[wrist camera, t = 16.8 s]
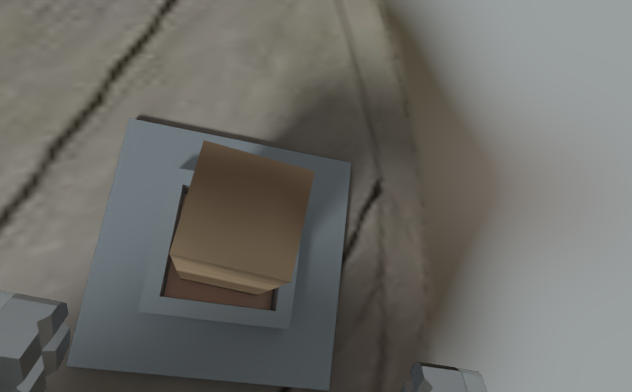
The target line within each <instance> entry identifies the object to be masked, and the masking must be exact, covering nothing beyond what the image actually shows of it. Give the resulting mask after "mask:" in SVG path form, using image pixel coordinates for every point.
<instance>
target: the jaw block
mask: <svg viewBox="0 0 632 392" xmlns="http://www.w3.org/2000/svg"><path fill="white" fill-rule="evenodd" d="M314 173H315V171H312V170H308V169H305V168H301V167H298V166H294V165H291V164H287V163H284V162H280V161H277V160H273V159H269V158H266V157H262V156H259V155H255V154H252V153H248V152H245V151H241V150H237V149H234V148H230V147H227V146H223V145H220V144H216V143H213V142H209V141H206V140H204V141H203V144H202V148H201V151H200V154H199V158H198V161H197V164H196V167H195V171H194V174H193V177H192V181H191V184H190V187H189V191H188V194H187V197H186V200H185V204H184V207H183V210H182V214H181V217H180V220H179V224H178V227H177V230H176V234H175V237H174V240H173V243H172V247H171V250H170V253H169V254H170V256H171V258H172V261H173V263H174V266H175V268H176V270H177V273H178V275H179V278H180V279H183V280H188V281H192V282H197V283H201V284H206V285H210V286H214V287H219V288H223V289H228V290H232V291H237V292H241V293H246V294H250V295H254V296H257V295H259V294H262V293H264V292H267V291H270V290H272V289H275V288H277V287H280V286H282V285H285V284H287V283H290V282H291V280H292V275H293V270H294V266H295V261H296V257H297V252H298V247H299V243H300V238H301V233H302V229H303V224H304V219H305V215H306V210H307V206H308V201H309V196H310V192H311V187H312V182H313V178H314Z"/></svg>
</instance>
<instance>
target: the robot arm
mask: <svg viewBox="0 0 632 392" xmlns="http://www.w3.org/2000/svg"><path fill="white" fill-rule="evenodd" d="M67 315H68V309H67V304H66V303H63V302H59V301H53V300H48V299H43V298H38V297H33V296H28V295H23V294H17V293H11V292H6V291H0V392H44V391H45V389H46V388H47V387H46V380H45V377H47V376H48V375H50V374H52V373H53V372H55V371H57V370H58V368H59V366H60V365H61V363H62V361H63V359H64V357H65V355H66V352H67V349H68V346H69V341H70V328H69V327H68V326H67V325H66V324H65V323H64V320H65V319H66V317H67ZM410 372H411V378H412V379H411V380H410V381H408V382H406V383H404V386H403V388H402V390H401V392H487V390H486V387H485V384H484V381H483V378H482V376H481V374H480V373H479V372H478V371H471V370H465V369H459V368H455V367H449V366H442V365H436V364H430V363H423V362H416V363H415V364H414V365H413V367H412V369H411V371H410Z"/></svg>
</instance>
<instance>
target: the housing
mask: <svg viewBox="0 0 632 392" xmlns="http://www.w3.org/2000/svg"><path fill="white" fill-rule="evenodd" d="M204 140H206V141H209V142H213V143H216V144H220V145H223V146H227V147H230V148H234V149H237V150H241V151H245V152H248V153H252V154H255V155H259V156H262V157H266V158H269V159H273V160H277V161H280V162H284V163H287V164H291V165H294V166H298V167H301V168H305V169H308V170H312V171H315V173H314V178H313V182H312V187H311V192H310V196H309V201H308V206H307V210H306V215H305V219H304V224H303V229H302V233H301V238H300V243H299V247H298V252H297V257H296V261H295V266H294V270H293V275H292V280H291V282H290V283H287V284H285V285H282V286H280V287H277V288H275V289H272V290H270V291H267V292H264V293H262V294H259V295H257V296H254V295H250V294H246V293H241V292H237V291H232V290H228V289H223V288H219V287H214V286H210V285H206V284H201V283H197V282H192V281H188V280H183V279H180V278H179V275H178V273H177V270H176V268H175V266H174V263H173V261H172V258H171V256H170V254H169V253H170V250H171V247H172V243H173V240H174V237H175V234H176V230H177V227H178V224H179V220H180V217H181V214H182V210H183V207H184V204H185V200H186V197H187V194H188V191H189V187H190V184H191V181H192V177H193V174H194V171H195V167H196V164H197V161H198V158H199V154H200V151H201V148H202V144H203V141H204ZM350 173H351V163H350V162H345V161H340V160H335V159H330V158H325V157H320V156H315V155H310V154H305V153H300V152H295V151H290V150H285V149H280V148H275V147H270V146H265V145H260V144H255V143H250V142H245V141H241V140H236V139H231V138H226V137H221V136H216V135H211V134H206V133H201V132H196V131H191V130H186V129H181V128H176V127H171V126H166V125H161V124H156V123H151V122H146V121H141V120H136V119H131V118H129V121H128V125H127V129H126V133H125V137H124V141H123V145H122V148H121V152H120V156H119V160H118V164H117V168H116V172H115V176H114V180H113V184H112V188H111V192H110V195H109V199H108V203H107V207H106V211H105V215H104V219H103V223H102V227H101V231H100V235H99V239H98V242H97V246H96V250H95V254H94V258H93V262H92V266H91V270H90V274H89V278H88V282H87V286H86V290H85V293H84V297H83V301H82V305H81V309H80V313H79V317H78V321H77V325H76V329H75V333H74V337H73V340H72V344H71V348H70V352H69V356H68V360H67V364H66V366H69V367H80V368H90V369H101V370H112V371H122V372H133V373H144V374H155V375H165V376H176V377H187V378H197V379H208V380H219V381H229V382H240V383H251V384H262V385H272V386H283V387H294V388H304V389H315V390H326V391H329V386H330V376H331V366H332V356H333V346H334V335H335V325H336V315H337V305H338V295H339V285H340V274H341V264H342V254H343V244H344V234H345V223H346V213H347V203H348V193H349V183H350Z"/></svg>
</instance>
